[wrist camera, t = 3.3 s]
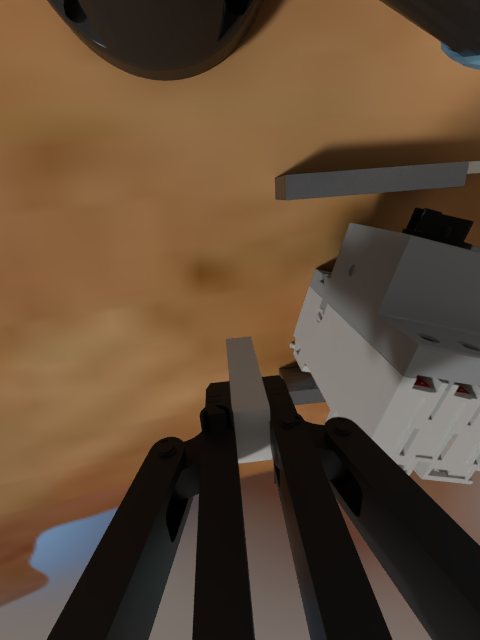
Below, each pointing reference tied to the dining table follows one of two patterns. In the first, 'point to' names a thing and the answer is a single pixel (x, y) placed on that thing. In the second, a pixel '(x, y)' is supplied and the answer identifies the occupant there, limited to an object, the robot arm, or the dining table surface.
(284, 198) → the dark gray open bay
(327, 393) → the circuit breaker
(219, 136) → the dining table surface
